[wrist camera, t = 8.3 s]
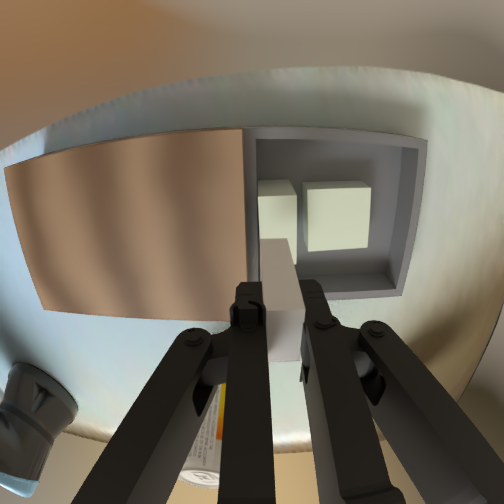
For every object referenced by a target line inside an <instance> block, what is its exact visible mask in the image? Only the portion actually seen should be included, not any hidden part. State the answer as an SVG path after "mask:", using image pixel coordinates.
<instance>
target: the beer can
mask: <svg viewBox="0 0 504 504" xmlns="http://www.w3.org/2000/svg"><path fill="white" fill-rule="evenodd" d="M225 390H226V383H223V384H219V385H218V389H217V391H216V393H215V396H214V398H213V400H212V402H211V405H210V407H209V409H208V412H207V414H206V416H205V418H204V421H203V423H202V425H201V428H200V430H199V432H198V434H197V437H196V439H195V441H194V443H193V446H192V448H191V450H190V452H189V454H188V457H187V459H186V461H185V463H184V465H183V468H182V470H181V472H180V474H179V476H178V479H180V480H181V481H183V482H185V483H188V484H191V485H194V486H198V487H205V488H219V473H220V458H221V444H222V430H223V416H224V403H225Z"/></svg>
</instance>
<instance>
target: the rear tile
mask: <svg viewBox="0 0 504 504" xmlns="http://www.w3.org/2000/svg"><path fill="white" fill-rule="evenodd" d="M302 190H303V233H304V242H305V244H306V247H307V250H308V252H310V251H325V250H339V249H354V248H367V246H368V234H369V220H370V202H371V187H369V186H368V185H366V184H365V183H364V182H362V181H361V180H360V181H320V182H302Z"/></svg>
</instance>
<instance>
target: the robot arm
mask: <svg viewBox="0 0 504 504" xmlns="http://www.w3.org/2000/svg"><path fill="white" fill-rule="evenodd" d="M229 312H230V324H231V326H230V327H229V328H228V329H227V330H225V331H223V332H221V333H218V334H213V335H210V333H209V332H208V331H207V330H204V329H201V328H190V329H186V330H184V331H182V332H181V333H180V334H179V335H178V336H177V337H176V339H175V340H174V342H173V343H172V345H171V347H170V348H169V350H168V351H167V353H166V354H165V356H164V357H163V359H162V360H161V362H160V363H159V365H158V366H157V368H156V369H155V371H154V373H153V374H152V376H151V377H150V379H149V380H148V382H147V383H146V385H145V386H144V388H143V389H142V391H141V393H140V394H139V396H138V397H137V399H136V400H135V402H134V403H133V405H132V407H131V408H130V410H129V411H128V413H127V414H126V416H125V418H124V419H123V421H122V422H121V424H120V425H119V427H118V428H117V430H116V432H115V433H114V435H113V436H112V438H111V440H110V441H109V443H108V444H107V446H106V447H105V449H104V451H103V452H102V454H101V455H100V457H99V459H98V461H97V462H96V464H95V465H94V467H93V468H92V470H91V472H90V473H89V475H88V476H87V478H86V480H85V481H84V483H83V485H82V486H81V488H80V489H79V491H78V493H77V494H76V496H75V497H74V499H73V501H72V503H71V504H166V502H167V500H168V498H169V496H170V494H171V492H172V489H173V487H174V485H175V483H176V481H177V479H178V476H179V474H180V472H181V470H182V468H183V465H184V463H185V461H186V459H187V457H188V454H189V452H190V450H191V448H192V446H193V443H194V441H195V439H196V437H197V434H198V432H199V430H200V428H201V425H202V423H203V421H204V418H205V416H206V414H207V412H208V409H209V407H210V405H211V402H212V400H213V398H214V396H215V393H216V391H217V389H218V385H219V384H223V383H226V390H225V403H224V416H223V430H222V444H221V458H220V473H219V489H218V490H219V491H218V502H217V504H276V497H275V476H274V456H273V437H272V418H271V400H270V383H269V366H268V362H288V361H300V356H301V357H302V366H301V374H300V382H302V379H303V386H304V392H305V399H306V405H307V412H308V419H309V426H310V433H311V440H312V447H313V455H314V462H315V470H316V478H317V486H318V494H319V502H320V504H406V502H405V499H404V496H403V494H402V492H401V491H400V490H399V489H398V488H396V487H394V486H393V485H392V484H391V482H390V479H389V475H388V471H387V467H386V464H385V461H384V457H383V453H382V449H381V446H380V443H379V439H378V435H377V432H376V429H375V425H374V422H373V419H374V420H375V422H376V424H377V425H378V427H379V428H380V430H381V432H382V433H383V435H384V436H385V438H386V440H387V441H388V443H389V444H390V446H391V447H392V449H393V451H394V452H395V454H396V456H397V457H398V459H399V460H400V462H401V464H402V465H403V467H404V468H405V470H406V472H407V473H408V475H409V477H410V478H411V480H412V482H413V483H414V485H415V486H416V488H417V490H418V491H419V493H420V495H421V496H422V498H423V500H424V501H425V503H426V504H504V463H503V462H502V460H501V459H500V458H499V456H498V455H497V454H496V453H495V451H494V450H493V448H492V447H491V446H490V445H489V443H488V442H487V441H486V439H485V438H484V437H483V435H482V434H481V433H480V432H479V430H478V429H477V428H476V427H475V425H474V424H473V423H472V421H471V420H470V419H469V418H468V417H467V415H466V414H465V413H464V412H463V410H462V409H461V408H460V407H459V405H458V404H457V403H456V402H455V401H454V399H453V398H452V397H451V396H450V395H449V393H448V392H447V391H446V390H445V389H444V387H443V386H442V385H441V384H440V383H439V382H438V380H437V379H436V378H435V377H434V376H433V375H432V373H431V372H430V371H429V370H428V369H427V368H426V366H425V365H424V364H423V363H422V362H421V361H420V360H419V359H418V357H417V356H416V355H415V354H414V353H413V352H412V351H411V349H410V348H409V347H408V346H407V345H406V344H405V343H404V342H403V341H402V339H401V338H400V337H399V336H398V335H397V334H396V333H395V332H394V331H393V330H392V328H391V327H390V326H388V325H387V324H386V323H383V322H381V321H375V320H372V321H367V322H365V323H363V324H362V326H361V328H360V329H356V328H349V327H345V326H343V325H341V324H340V322H339V320H338V319H337V318H336V317H334V316H333V315H332V314H331V311H330V308H329V305H328V303H327V300H326V298H325V294H324V292H323V289H322V286H321V284H320V283H318V282H317V281H316V280H315V279H306V280H298V278H297V274H296V270H295V266H294V263H293V259H292V255H291V251H290V247H289V244H288V240H287V238H273V239H260V281H259V282H240V283H239V285H238V286H237V287H236V293H235V302H234V303H233V304H232V305H231V307H230V309H229ZM77 412H78V408H77V405H76V403H75V401H74V400H73V398H72V397H71V396H70V395H69V394H68V392H67V391H66V390H65V389H64V388H63V387H62V386H61V385H59V384H58V383H57V382H56V381H55V380H53V379H52V378H51V377H50V376H48V375H47V374H45V373H44V372H42V371H41V370H39V369H37V368H35V367H33V366H31V365H29V364H26V363H22V362H18V363H15V364H14V366H13V367H12V369H11V370H10V372H9V374H8V381H7V385H6V389H5V393H4V397H3V400H2V402H1V404H0V485H1V486H3V487H4V488H6V489H8V490H10V491H12V492H14V493H16V494H18V495H20V496H23V497H30V496H32V494H33V493H34V490H35V489H36V486H37V484H38V483H39V479H40V476H41V473H42V471H43V468H44V465H45V463H46V460H47V457H48V455H49V453H50V450H51V448H52V445H53V443H54V441H55V439H56V437H57V436H58V435H59V434H60V433H61V432H62V431H63V430H64V429H65V428H66V427H67V426H68V425H69V424H71V423H72V422H73V421H74V419H75V417H76V414H77ZM372 417H373V419H372Z"/></svg>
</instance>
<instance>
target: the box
mask: <svg viewBox="0 0 504 504" xmlns="http://www.w3.org/2000/svg"><path fill="white" fill-rule="evenodd" d="M427 141H428V140H424V139H420V138H415V137H411V136H406V135H398V134H391V133H383V132H374V131H364V130H353V129H340V128H324V127H299V126H247V127H244V160H245V193H246V225H247V256H248V282H259V281H260V232H259V211H258V181H257V180H279V179H289V181H290V183H291V185H292V187H293V189H294V191H295V193H296V195H297V259H296V264H294V266H295V270H296V274H297V278H298V280H306V279H315V280H316V281H317V282H318V283H320V284H321V286H322V289H323V292H324V294H325V298H326V300H346V299H364V298H380V297H394V296H402V292H403V289H404V285H405V281H406V277H407V273H408V269H409V264H410V260H411V255H412V251H413V246H414V241H415V236H416V230H417V225H418V219H419V213H420V206H421V200H422V192H423V185H424V176H425V166H426V155H427ZM360 180H361V181H362V182H364V183H365V184H366V185H368V186H369V187H371V202H370V220H369V234H368V246H367V248H354V249H339V250H325V251H310V252H308V250H307V247H306V244H305V242H304V233H303V190H302V182H320V181H360Z"/></svg>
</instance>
